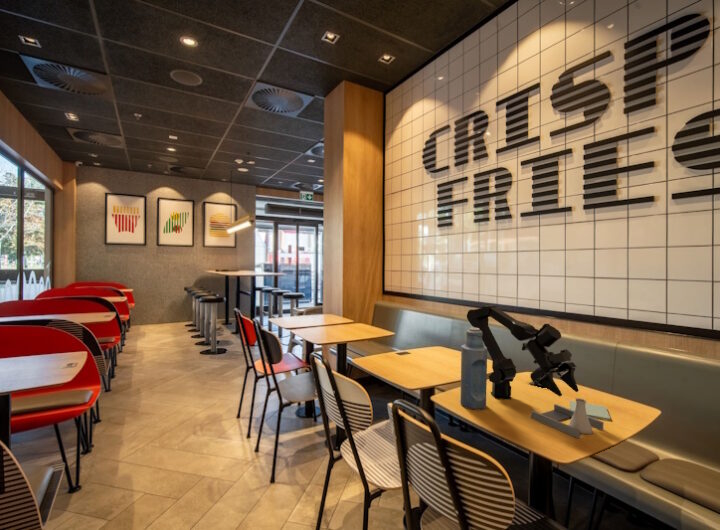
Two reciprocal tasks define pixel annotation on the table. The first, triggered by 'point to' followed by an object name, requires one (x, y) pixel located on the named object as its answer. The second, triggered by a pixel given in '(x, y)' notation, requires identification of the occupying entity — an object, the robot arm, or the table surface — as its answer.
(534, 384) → the black arched bracket
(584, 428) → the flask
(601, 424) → the trough
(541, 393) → the table surface
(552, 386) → the robot arm
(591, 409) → the pad
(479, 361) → the bottle
